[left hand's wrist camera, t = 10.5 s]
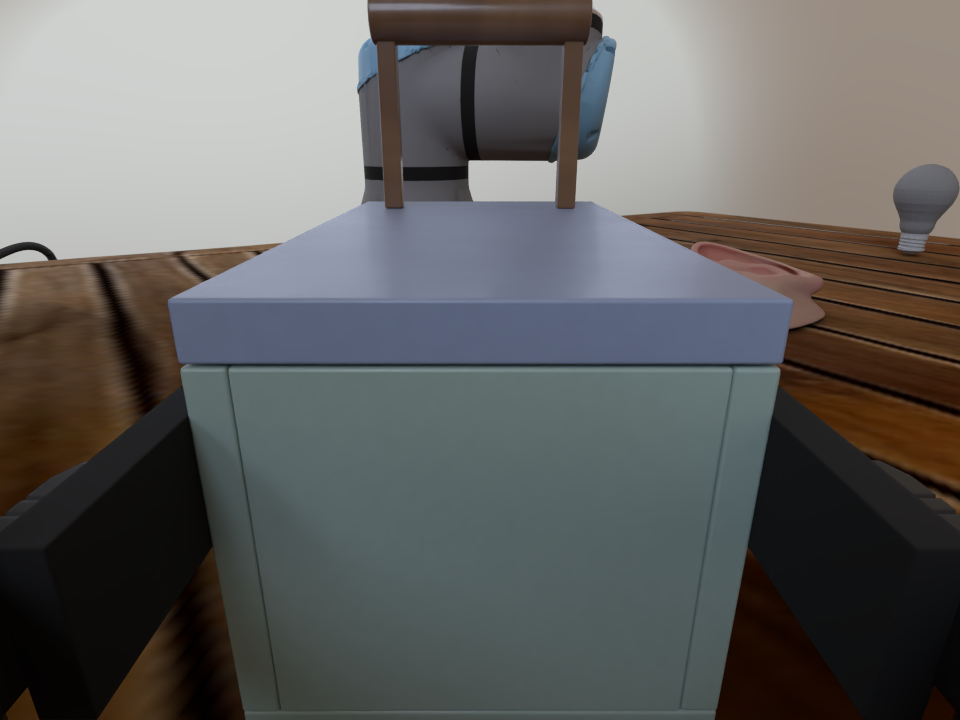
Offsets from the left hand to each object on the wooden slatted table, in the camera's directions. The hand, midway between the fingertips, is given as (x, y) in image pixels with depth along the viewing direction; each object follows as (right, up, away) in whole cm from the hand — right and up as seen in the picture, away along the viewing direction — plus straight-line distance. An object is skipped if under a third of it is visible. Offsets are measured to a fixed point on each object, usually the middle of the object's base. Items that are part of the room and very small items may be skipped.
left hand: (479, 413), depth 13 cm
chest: (0, -4, +7) cm, 8 cm away
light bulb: (+51, +14, +56) cm, 77 cm away
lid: (0, +4, +5) cm, 6 cm away
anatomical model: (+21, +5, +34) cm, 40 cm away
